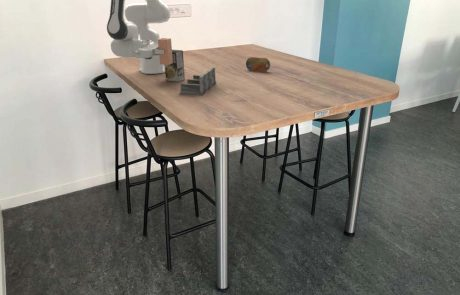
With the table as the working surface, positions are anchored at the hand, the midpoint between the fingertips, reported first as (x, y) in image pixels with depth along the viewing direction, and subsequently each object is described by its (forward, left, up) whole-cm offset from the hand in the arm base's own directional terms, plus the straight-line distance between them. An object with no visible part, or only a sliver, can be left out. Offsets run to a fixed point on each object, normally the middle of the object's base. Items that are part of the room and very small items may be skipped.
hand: (167, 50), depth 184 cm
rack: (-4, +14, -20) cm, 25 cm away
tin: (-48, +36, -20) cm, 63 cm away
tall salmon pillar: (0, -1, -6) cm, 7 cm away
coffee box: (-18, -5, -20) cm, 27 cm away
